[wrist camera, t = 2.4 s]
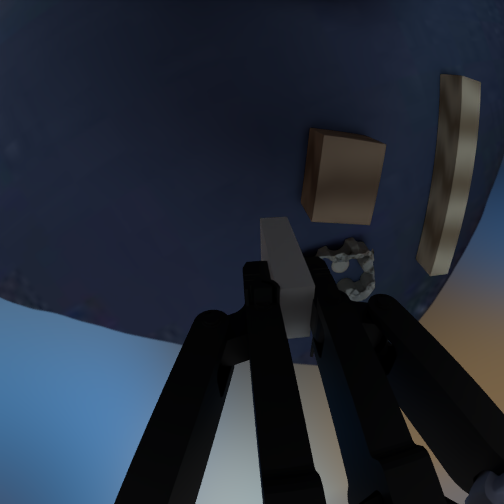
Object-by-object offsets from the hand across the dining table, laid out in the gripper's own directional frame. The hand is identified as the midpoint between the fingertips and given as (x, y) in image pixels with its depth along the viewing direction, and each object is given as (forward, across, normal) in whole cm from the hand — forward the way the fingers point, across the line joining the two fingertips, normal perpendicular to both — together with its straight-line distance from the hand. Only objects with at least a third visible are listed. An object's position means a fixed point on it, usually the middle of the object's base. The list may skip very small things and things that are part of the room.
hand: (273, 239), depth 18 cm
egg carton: (+15, +8, -12) cm, 21 cm away
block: (+14, +8, 0) cm, 16 cm away
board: (+14, +23, 0) cm, 27 cm away
